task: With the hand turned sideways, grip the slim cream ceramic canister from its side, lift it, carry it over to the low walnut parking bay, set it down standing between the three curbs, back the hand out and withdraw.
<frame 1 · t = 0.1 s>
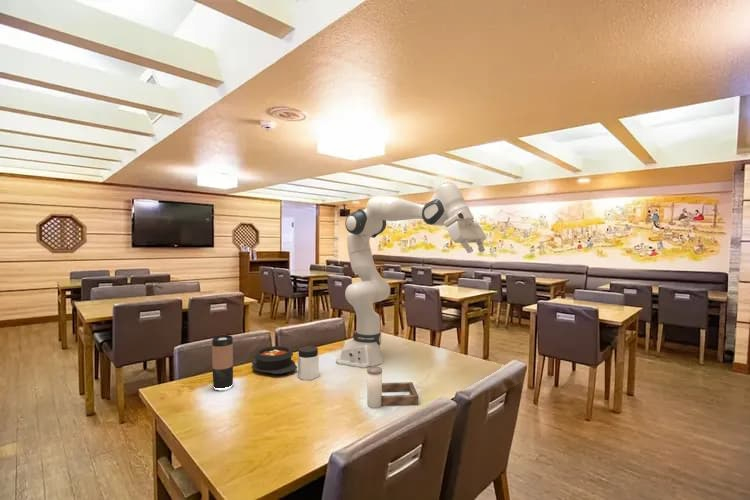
hand: (476, 251, 139), 54 cm above the table, tool tilted 30°, fingers open, 8 cm apart
casserole: (274, 369, 169), on the table
canister: (374, 404, 133), on the table
jar: (308, 377, 159), on the table
travel mug: (223, 388, 147), on the table
bay: (397, 397, 139), on the table
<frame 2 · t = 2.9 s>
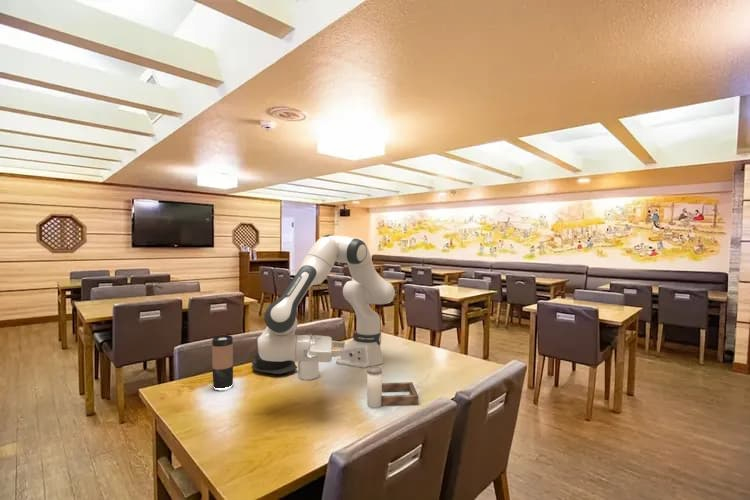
hand: (345, 348, 131), 21 cm above the table, tool horizontal, fingers open, 8 cm apart
nothing on the table moved.
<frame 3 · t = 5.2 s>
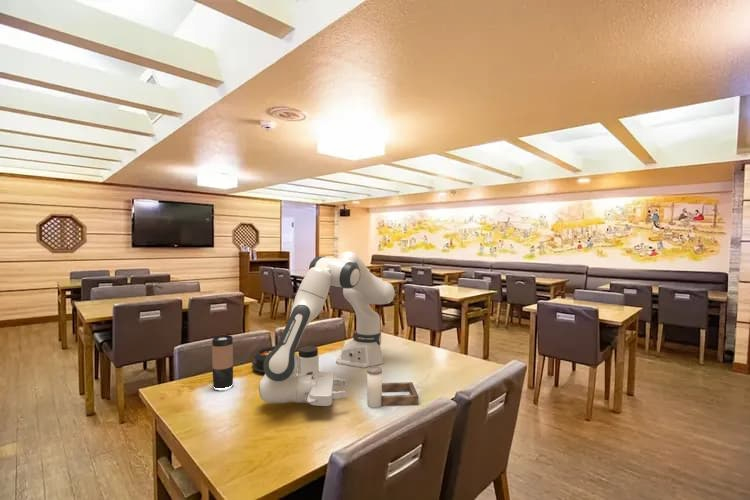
hand: (346, 387, 132), 6 cm above the table, tool horizontal, fingers open, 8 cm apart
nothing on the table moved.
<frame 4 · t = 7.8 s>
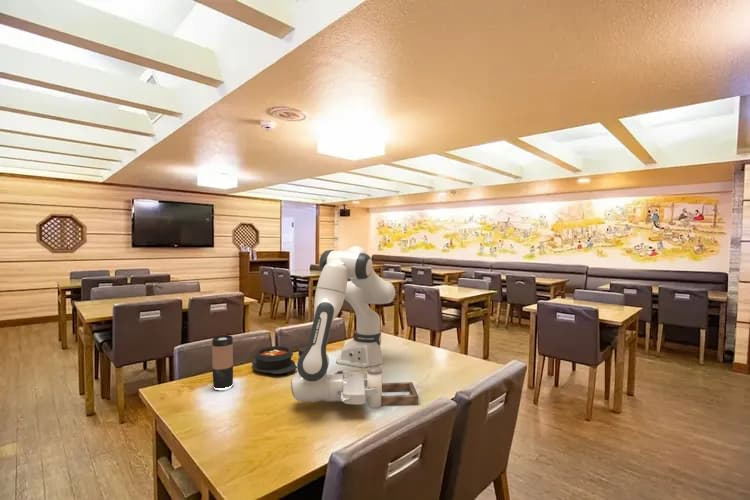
hand: (377, 386, 132), 7 cm above the table, tool horizontal, fingers closed on canister, 5 cm apart
canister: (374, 404, 133), on the table, touching gripper
everything else where it was.
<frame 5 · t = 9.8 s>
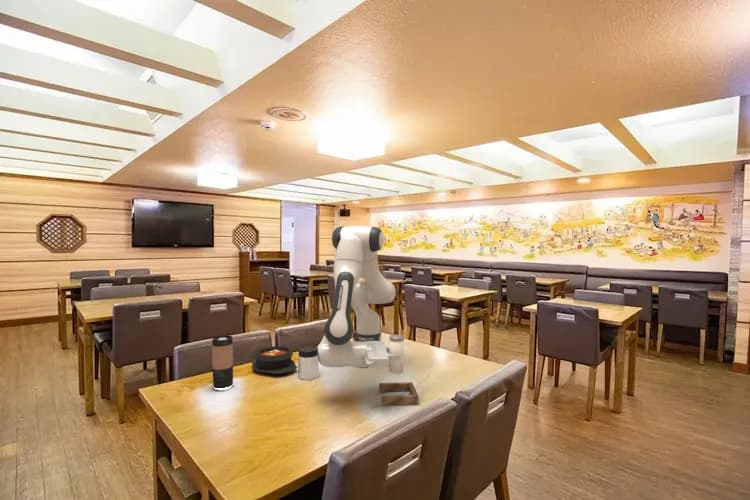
hand: (398, 353, 138), 17 cm above the table, tool horizontal, fingers closed on canister, 5 cm apart
canister: (396, 370, 138), point 10 cm above the table, touching gripper
everything else where it was.
when the fingers open (8 cm above the table, at t = 12.0 s): canister drops 1 cm, on the table.
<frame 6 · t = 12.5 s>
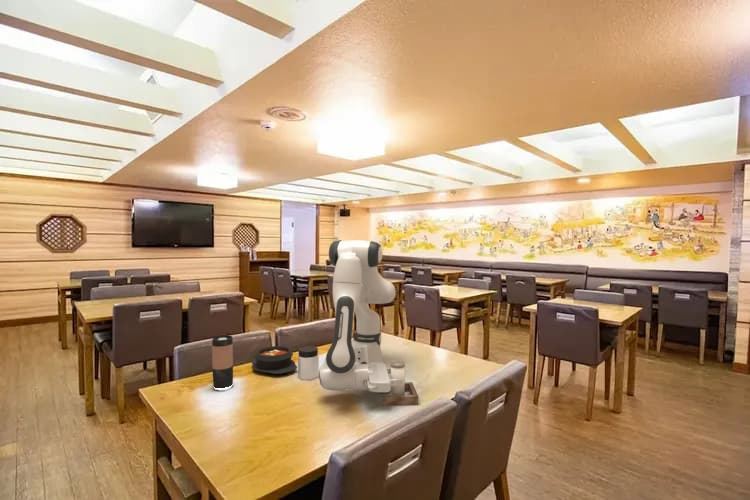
hand: (400, 376, 138), 8 cm above the table, tool horizontal, fingers open, 8 cm apart
canister: (397, 397, 139), on the table
everything else where it was.
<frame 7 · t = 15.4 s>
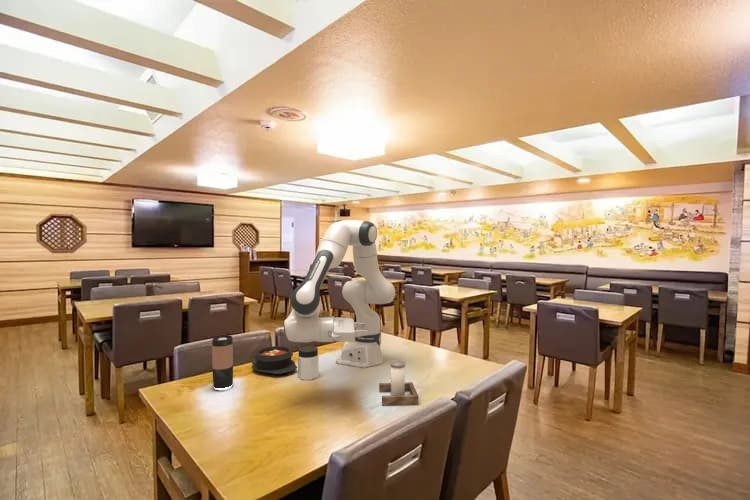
hand: (366, 329, 137), 26 cm above the table, tool horizontal, fingers open, 8 cm apart
nothing on the table moved.
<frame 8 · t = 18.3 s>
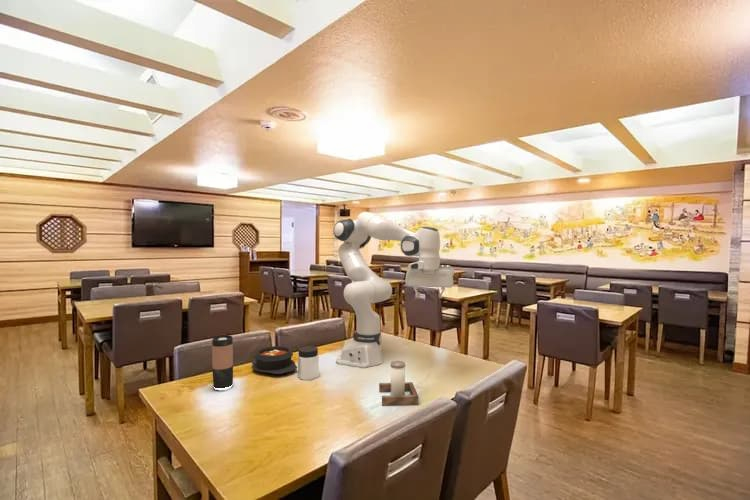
hand: (429, 297, 158), 34 cm above the table, tool pointing down, fingers open, 8 cm apart
nothing on the table moved.
at the end: canister 0.1 cm from the bay (horizontally); canister tilted 0°; the gripper is holding nothing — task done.
